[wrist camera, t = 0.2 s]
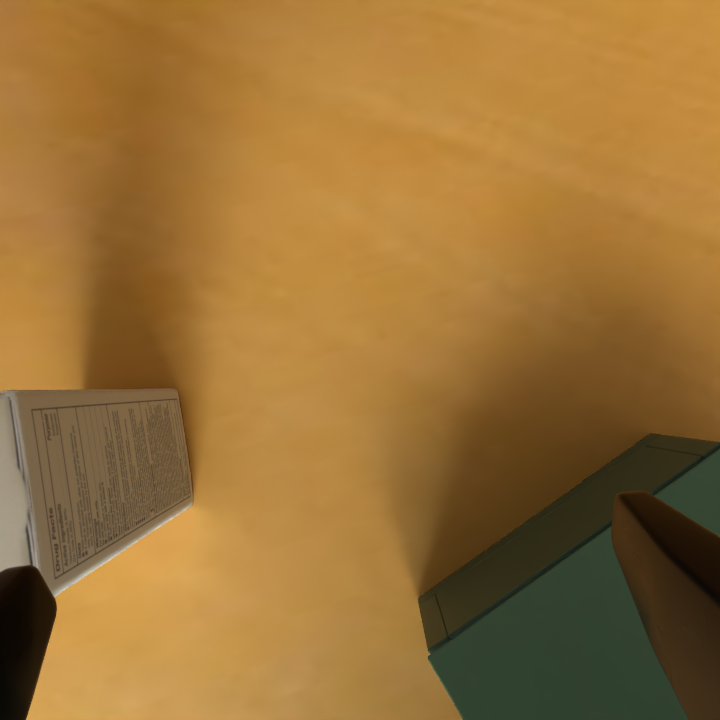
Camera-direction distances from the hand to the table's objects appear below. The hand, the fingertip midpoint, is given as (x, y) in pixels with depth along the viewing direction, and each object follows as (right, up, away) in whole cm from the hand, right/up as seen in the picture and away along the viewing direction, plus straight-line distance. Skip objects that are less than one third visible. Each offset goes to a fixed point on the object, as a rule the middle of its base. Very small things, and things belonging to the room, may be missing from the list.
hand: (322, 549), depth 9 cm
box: (-9, -1, +15) cm, 17 cm away
